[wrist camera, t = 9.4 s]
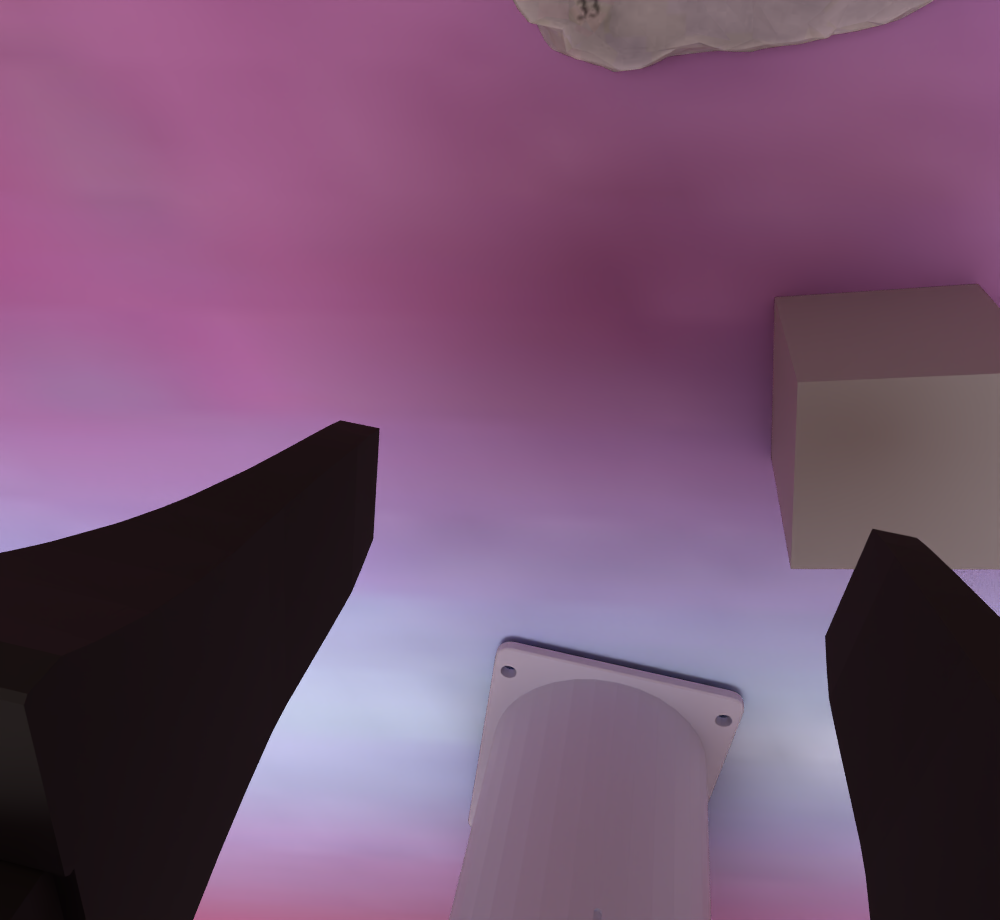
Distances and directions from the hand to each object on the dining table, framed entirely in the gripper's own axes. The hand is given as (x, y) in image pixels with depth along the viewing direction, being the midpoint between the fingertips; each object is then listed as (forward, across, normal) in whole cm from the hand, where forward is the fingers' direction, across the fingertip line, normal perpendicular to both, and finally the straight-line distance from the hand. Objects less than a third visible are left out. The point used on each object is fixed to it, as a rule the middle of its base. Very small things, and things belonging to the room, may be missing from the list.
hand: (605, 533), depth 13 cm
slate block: (+10, -6, +1) cm, 12 cm away
